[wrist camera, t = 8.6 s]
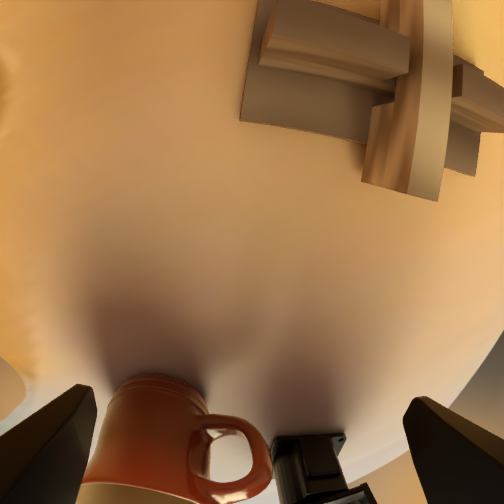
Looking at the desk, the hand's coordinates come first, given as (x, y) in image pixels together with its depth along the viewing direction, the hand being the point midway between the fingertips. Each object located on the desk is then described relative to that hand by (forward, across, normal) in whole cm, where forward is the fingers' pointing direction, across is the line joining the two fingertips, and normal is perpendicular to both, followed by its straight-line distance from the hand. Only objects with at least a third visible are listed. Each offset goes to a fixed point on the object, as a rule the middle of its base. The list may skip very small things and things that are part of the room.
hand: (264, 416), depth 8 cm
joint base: (+12, -7, -12) cm, 18 cm away
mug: (+12, +3, +11) cm, 17 cm away
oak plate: (+11, -7, -12) cm, 18 cm away
